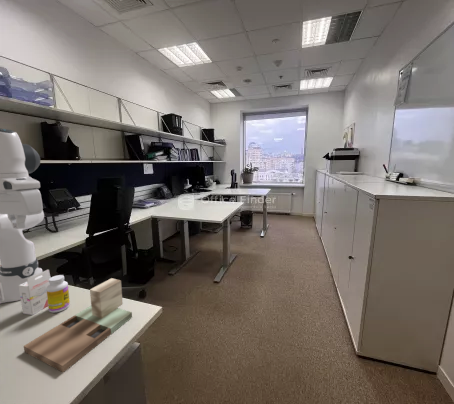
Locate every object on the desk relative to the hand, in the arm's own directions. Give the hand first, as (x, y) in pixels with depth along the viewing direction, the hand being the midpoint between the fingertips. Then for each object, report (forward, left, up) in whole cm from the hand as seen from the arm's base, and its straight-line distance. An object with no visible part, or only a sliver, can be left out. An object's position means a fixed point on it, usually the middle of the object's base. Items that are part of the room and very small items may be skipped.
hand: (19, 228), depth 66 cm
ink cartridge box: (-15, +9, -37) cm, 41 cm away
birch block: (+14, +17, -35) cm, 41 cm away
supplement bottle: (-7, +12, -37) cm, 39 cm away
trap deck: (+15, +7, -37) cm, 40 cm away
